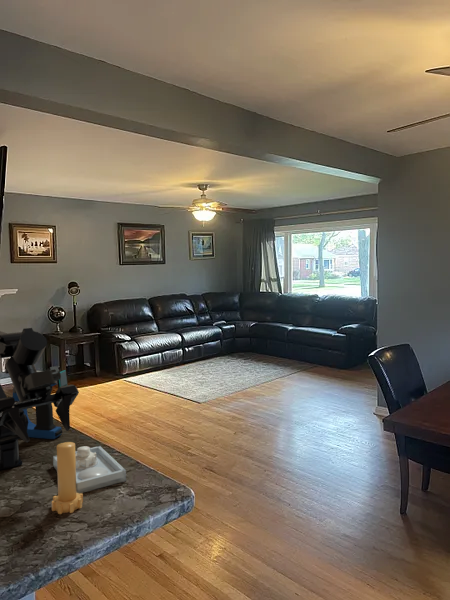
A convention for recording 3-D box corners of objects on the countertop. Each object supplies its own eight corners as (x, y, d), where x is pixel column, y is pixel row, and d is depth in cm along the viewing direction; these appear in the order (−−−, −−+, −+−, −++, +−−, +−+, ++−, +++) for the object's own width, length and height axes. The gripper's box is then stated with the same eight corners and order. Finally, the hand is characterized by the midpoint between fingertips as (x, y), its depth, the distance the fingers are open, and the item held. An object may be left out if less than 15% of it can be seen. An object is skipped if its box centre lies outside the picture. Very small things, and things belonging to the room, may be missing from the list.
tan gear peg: (48, 504, 97) (46, 443, 96) (78, 495, 100) (76, 437, 99) (56, 517, 92) (54, 453, 91) (87, 508, 95) (85, 446, 94)
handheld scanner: (61, 440, 133) (60, 372, 132) (11, 436, 136) (10, 370, 135) (69, 435, 137) (68, 369, 136) (21, 431, 140) (20, 367, 139)
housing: (53, 466, 116) (52, 446, 115) (100, 455, 122) (99, 437, 122) (74, 495, 101) (73, 473, 100) (126, 480, 108) (125, 460, 107)
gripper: (-9, 362, 96) (15, 426, 89) (73, 350, 110) (100, 405, 103) (-22, 392, 102) (0, 455, 95) (58, 378, 115) (82, 431, 109)
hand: (48, 435), depth 100 cm, fingers open, 9 cm apart
